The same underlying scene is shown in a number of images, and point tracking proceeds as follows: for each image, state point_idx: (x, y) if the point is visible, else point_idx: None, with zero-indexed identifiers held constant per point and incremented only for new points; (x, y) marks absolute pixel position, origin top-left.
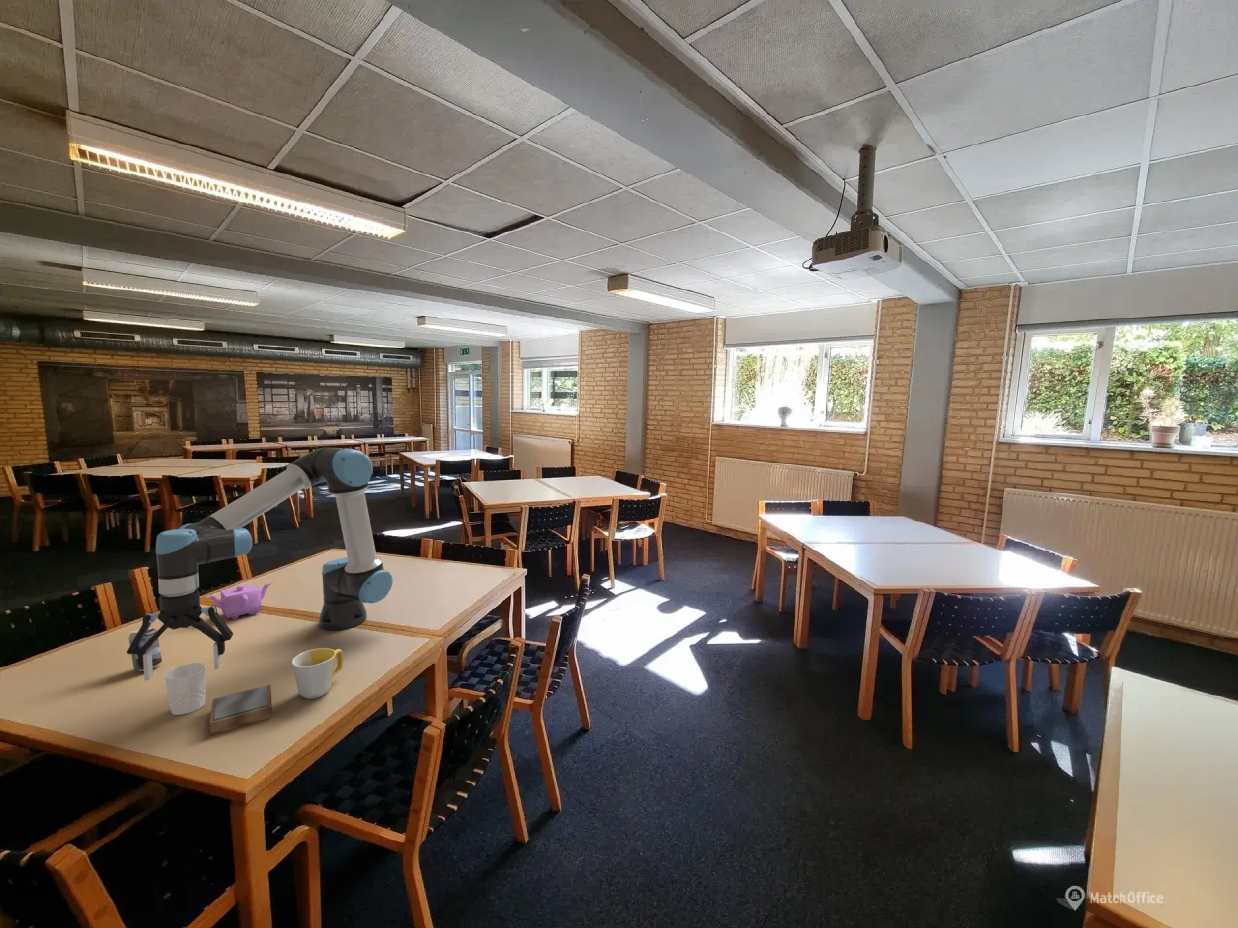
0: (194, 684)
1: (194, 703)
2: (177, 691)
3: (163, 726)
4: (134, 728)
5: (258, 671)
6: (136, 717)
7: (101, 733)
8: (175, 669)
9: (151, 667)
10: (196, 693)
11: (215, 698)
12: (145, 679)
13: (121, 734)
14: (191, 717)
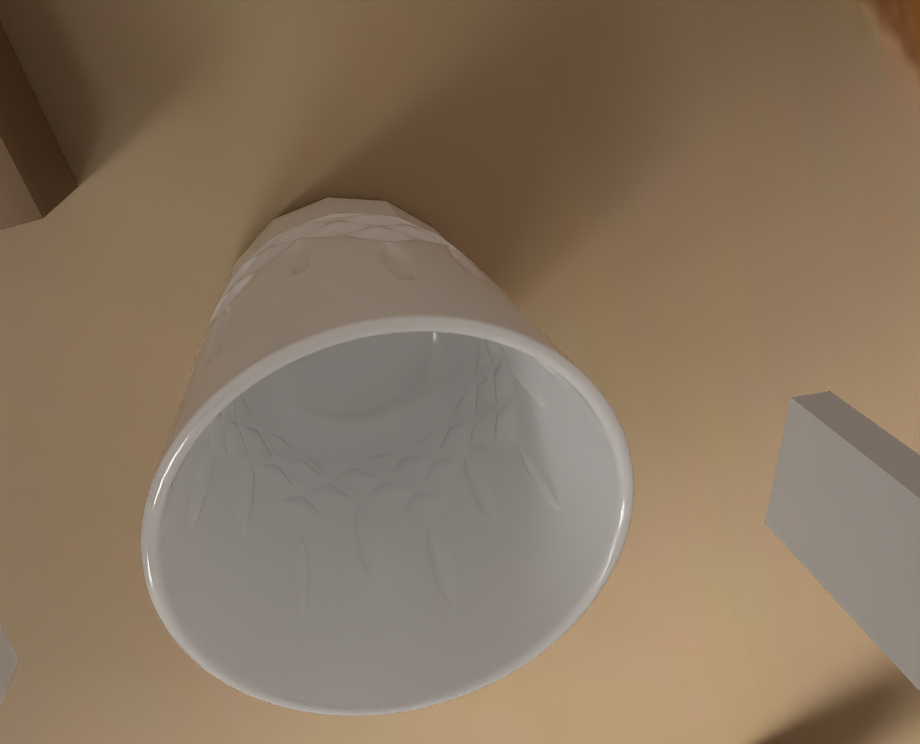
0: (230, 327)
1: (259, 248)
2: (405, 252)
3: (436, 27)
4: (652, 93)
5: (22, 729)
6: (677, 274)
7: (843, 109)
8: (556, 609)
9: (853, 582)
10: (233, 294)
11: (16, 223)
12: (831, 397)
13: (720, 25)
14: (241, 111)
